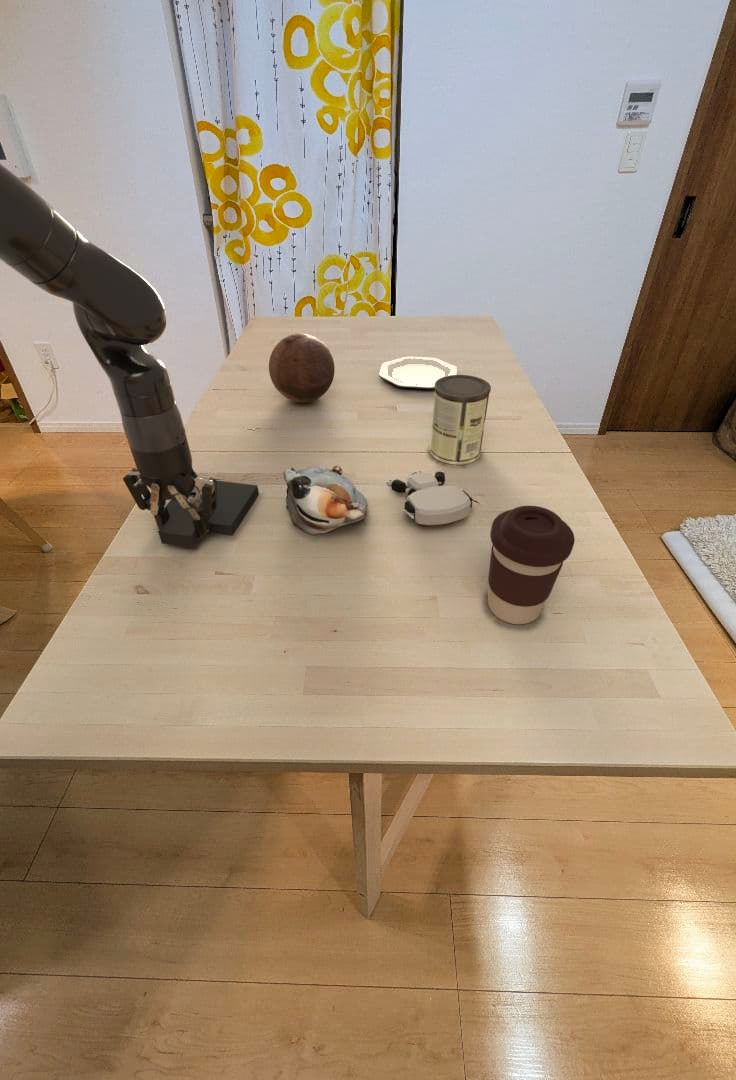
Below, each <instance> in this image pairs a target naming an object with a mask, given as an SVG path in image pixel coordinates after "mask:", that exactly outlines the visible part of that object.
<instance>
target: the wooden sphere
mask: <svg viewBox="0 0 736 1080" xmlns="http://www.w3.org/2000/svg"><path fill="white" fill-rule="evenodd" d="M335 368H336V367H335V361H334V357H333V355H332V352H331V350H330V349H329V348H328V346H327V345H326V343H324V341H322V340H320V339H319V338H317V337H315V336H313V335H312V334H307V333H293V334H289V335H287V336H286V337H284V338H282V339H281V340H279V341H278V342H277V343H276V344H275V346H274V348H273V349H272V351H271V353H270V356H269V360H268V373H269V377H270V380H271V383H272V384H273V387H274V388H275V389H276V390H277V392H278V393H280V395H282V396H283V397H285V398H286V399H287V400H290V401H292V402H297V403H309V402H314V401H316V400H318V399H320V398H321V397H322V396H324V395H325V394H326V393H327V391H329V388H330V387H331V385H332V383H333V381H334V378H335V371H336V369H335Z"/></svg>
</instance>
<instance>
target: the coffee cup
mask: <svg viewBox="0 0 736 1080" xmlns="http://www.w3.org/2000/svg"><path fill="white" fill-rule="evenodd" d="M489 536H490V542H491V544H492V545H491V549H490V558H489V568H488V575H487V576H488V577H487V579H488V580H487V582H488V591H487V605H488V608H489V610H490V611H491V613H492V614H493V615H494V616H495V617H497V618H498V619H499V620H501V621H503V622H505V623H509V624H513V625H526V624H530V623H531V622H534V621H535V620H537V618H538V617H539V616H540V615H541V612H542V610H543V608H544V605H545V604H546V601H547V600H548V599H549V597H550V595H551V593H552V591H553V588H554V586H555V583H556V582H557V579H558V577H559V574H560V573H561V570H562V568H563V564H564V562H565V561H566V560H567V559H568V558H569V557H570V556H571V554H572V551H573V548H574V546H575V541H576V540H575V535H574V531H573V530H572V528H571V527H570V526H569V524H567V522H565V521H564V520H563V519H562V517H561V516H560V515H558V514H557V513H556V512H554V511H552V510H550V509H548V508H545V507H542V506H537V505H520V506H517V507H514V508H511V509H508V510H505V511H502V512H501V513H500V514H498V515H497V516H496V517H495V518H494V519H493V521H492V523H491V528H490V532H489Z"/></svg>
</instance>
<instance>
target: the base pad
mask: <svg viewBox="0 0 736 1080" xmlns="http://www.w3.org/2000/svg"><path fill="white" fill-rule="evenodd" d="M206 480H208V479H206ZM195 487H196V489H197V490H198V492H200V491H199V488H198V487H197V486H195ZM259 495H260V491H259V486H258V485H257V484H249V483H240V482H232V481H223V480H217V508H216V510H215V511H214V512H213V513H212V515H211V517H210V518H209V519H208V525H209V530H208V533H210V534H217V535H226V536H234V534H235V533H236V531H238V528H239V527H240V525H241V524H242V522H243V521H244V519H245V518H246V516H247V514H248V513H249V511H250V509H251V508H252V506H253V504H254V503H255V502H256V500H257V499H258V497H259ZM189 497H190V495H189V496H188V497H187V500H188V499H189ZM200 499H201V500H202V495H200ZM164 507H167V509H168V512H169V515H170V517H171V515H172V514H173V513H174V512H175V511H176V512H183V511H184V510H185V509H183V507H182V506H181V505H180V503H179V502H178V501H174V500H168V502H167V503H166V504H165V506H164Z"/></svg>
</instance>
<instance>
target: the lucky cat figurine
mask: <svg viewBox="0 0 736 1080" xmlns="http://www.w3.org/2000/svg"><path fill="white" fill-rule="evenodd" d="M343 473H344V472H343V468H342V467H341V466H340V465H334V466H333V467H332V469H329V468H327V467H323V466H320V465H310V466H307V467H305V468H302V469H299V470H296V469H295V468H294V467H289V468H287V469H286V470H284V471H283V474H282V475H283V479H284V481H285V484H286V496H285V509H286V510H287V512H289V517H290V520H291V523H292V525H294V526H295V527H297V528H299V529H301V530H302V531H304V532H305V533H306V534H309V535H312V536H315V535H317V534H327V533H329V532H331V531H334V530H335V529H339V528H340V527H344V526H346V525H350V524H354V523H357V522H361V521H363V520H365V518H366V516H367V509H368V500H367V498H366V497H365V495H364V494H363V493H362V492H361V491H360V490H359V489H358V488H357V487H356V485H355V484H354V483H353V482H352V480H351V479H350V478H349V477H348V476H347V475H345V474H343Z"/></svg>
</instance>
